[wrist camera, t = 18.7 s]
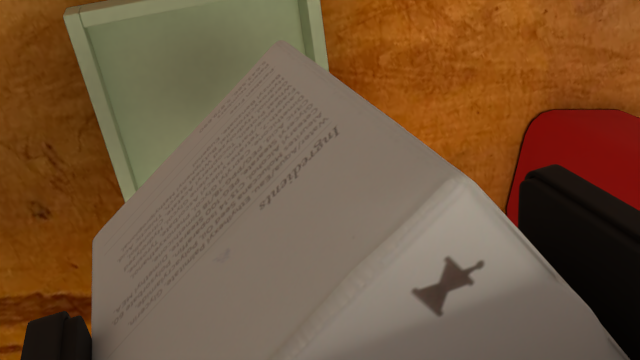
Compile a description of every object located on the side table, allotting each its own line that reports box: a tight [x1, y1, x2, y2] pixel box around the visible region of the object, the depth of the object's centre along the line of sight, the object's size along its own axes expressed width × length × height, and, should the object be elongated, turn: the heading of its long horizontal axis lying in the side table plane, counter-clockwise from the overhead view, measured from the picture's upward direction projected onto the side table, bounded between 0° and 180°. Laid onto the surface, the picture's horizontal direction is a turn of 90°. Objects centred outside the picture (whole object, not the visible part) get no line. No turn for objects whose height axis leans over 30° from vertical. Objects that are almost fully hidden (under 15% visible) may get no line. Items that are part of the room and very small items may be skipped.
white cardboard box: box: [92, 40, 630, 360], centre depth 11 cm, size 6×6×7 cm
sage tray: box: [63, 0, 329, 203], centre depth 26 cm, size 10×10×2 cm
